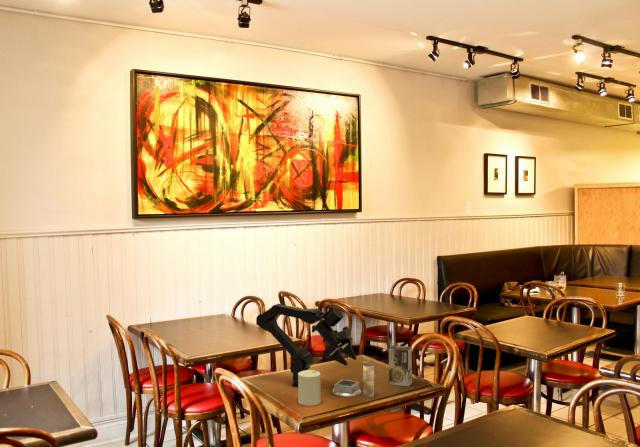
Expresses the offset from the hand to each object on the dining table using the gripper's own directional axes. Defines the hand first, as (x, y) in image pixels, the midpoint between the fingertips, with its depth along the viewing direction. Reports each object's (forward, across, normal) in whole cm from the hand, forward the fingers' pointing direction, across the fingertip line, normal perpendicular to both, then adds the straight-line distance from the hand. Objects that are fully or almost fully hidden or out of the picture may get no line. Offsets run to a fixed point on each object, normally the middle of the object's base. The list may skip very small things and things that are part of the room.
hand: (351, 362), depth 230 cm
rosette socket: (+8, 0, +11) cm, 13 cm away
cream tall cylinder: (+15, 0, +4) cm, 15 cm away
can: (+2, -17, +17) cm, 24 cm away
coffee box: (+20, +21, -1) cm, 29 cm away
